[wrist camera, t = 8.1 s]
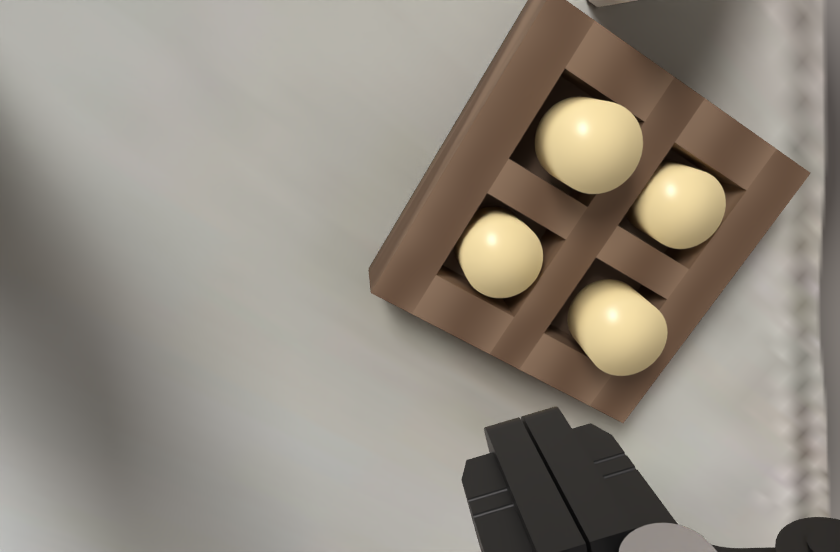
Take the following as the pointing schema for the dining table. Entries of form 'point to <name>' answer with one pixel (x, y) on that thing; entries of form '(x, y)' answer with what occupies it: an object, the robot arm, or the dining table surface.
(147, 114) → the dining table surface
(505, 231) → the button
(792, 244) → the dining table surface
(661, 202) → the button
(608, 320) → the button
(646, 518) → the robot arm
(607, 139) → the button
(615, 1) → the card
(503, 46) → the button board
